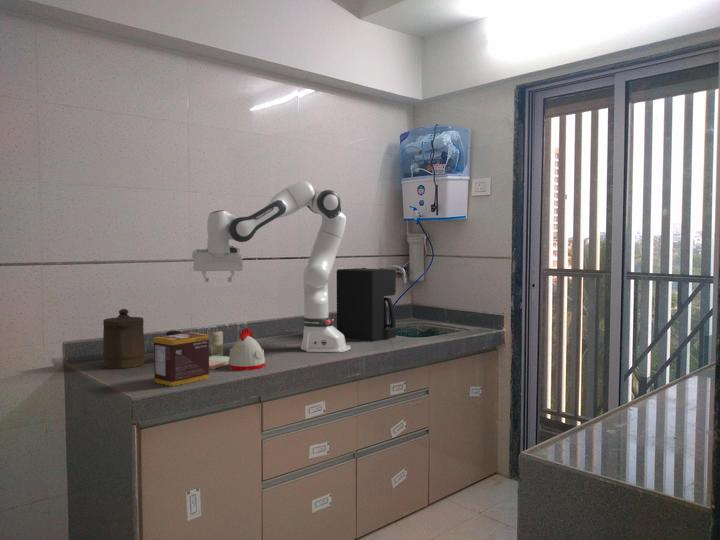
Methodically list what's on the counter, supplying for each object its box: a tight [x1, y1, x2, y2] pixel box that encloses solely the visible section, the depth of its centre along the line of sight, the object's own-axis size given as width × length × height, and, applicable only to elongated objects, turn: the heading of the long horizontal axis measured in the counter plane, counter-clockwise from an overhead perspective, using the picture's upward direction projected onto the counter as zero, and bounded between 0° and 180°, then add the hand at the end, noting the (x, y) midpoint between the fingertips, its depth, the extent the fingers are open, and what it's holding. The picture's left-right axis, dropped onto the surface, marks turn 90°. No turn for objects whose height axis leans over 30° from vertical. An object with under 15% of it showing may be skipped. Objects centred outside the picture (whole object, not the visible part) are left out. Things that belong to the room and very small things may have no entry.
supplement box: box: [153, 331, 210, 387], centre depth 195 cm, size 10×15×16 cm
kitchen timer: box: [227, 327, 266, 372], centre depth 218 cm, size 14×14×15 cm
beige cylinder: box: [210, 330, 224, 356], centre depth 241 cm, size 5×5×10 cm
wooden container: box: [102, 308, 145, 370], centre depth 222 cm, size 15×15×22 cm
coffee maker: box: [336, 267, 397, 343], centre depth 288 cm, size 28×20×35 cm
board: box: [209, 355, 230, 370], centre depth 224 cm, size 12×18×1 cm, turn 161°
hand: (218, 282), depth 238 cm, fingers open, 8 cm apart
